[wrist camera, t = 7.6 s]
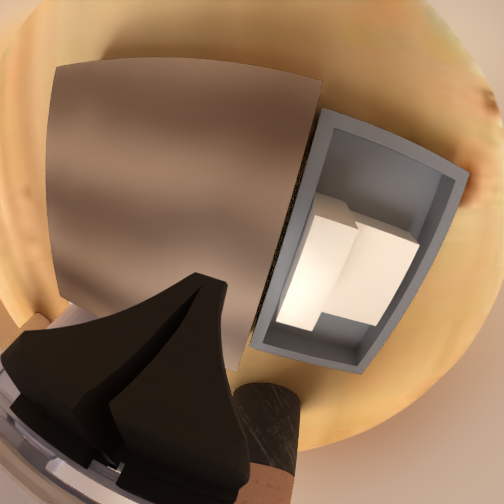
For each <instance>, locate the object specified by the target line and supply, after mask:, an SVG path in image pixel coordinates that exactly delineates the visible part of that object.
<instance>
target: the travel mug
mask: <svg viewBox="0 0 504 504" xmlns="http://www.w3.org/2000/svg"><path fill="white" fill-rule="evenodd" d="M232 398H233V401H234V404H235V408H236V411H237V414H238V416H239V419H240V421H241V424H242V427H243V429H244V431H245V434H246V436H247V441H248V449H249V457H250V478H249V481H248V483H247V484H246V485H244V486H243V487H242V488H241V489H239V492H238V496H237V500H236V502H235V503H234V504H290V501H291V495H292V490H293V484H294V477H295V468H296V459H297V448H298V437H299V424H300V400H299V398H298V397H297V396H296V395H295V394H294V393H293V392H292V391H290V390H288V389H286V388H284V387H281V386H278V385H274V384H268V383H251V384H246V385H243V386H241V387H239V388H238V389H237V390H236V391H235V392H234V394H233V396H232Z"/></svg>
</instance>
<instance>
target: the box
mask: <svg viewBox="0 0 504 504" xmlns="http://www.w3.org/2000/svg"><path fill="white" fill-rule="evenodd" d="M469 174H470V173H469V172H467V171H465V170H464V169H462V168H460V167H459V166H457V165H455V164H453V163H452V162H450V161H448V160H446V159H444V158H443V157H441V156H439V155H437V154H435V153H433V152H431V151H429V150H427V149H425V148H423V147H421V146H419V145H417V144H415V143H413V142H411V141H409V140H407V139H404V138H402V137H400V136H398V135H396V134H393V133H391V132H389V131H386V130H384V129H381V128H379V127H376V126H374V125H371V124H369V123H366V122H364V121H361V120H358V119H355V118H353V117H350V116H347V115H344V114H341V113H338V112H335V111H332V110H329V109H326V108H322V109H321V110H320V113H319V117H318V120H317V124H316V128H315V131H314V135H313V138H312V142H311V146H310V149H309V153H308V156H307V160H306V163H305V167H304V170H303V174H302V177H301V180H300V184H299V187H298V191H297V194H296V197H295V201H294V204H293V208H292V211H291V214H290V218H289V221H288V224H287V227H286V231H285V234H284V237H283V240H282V244H281V247H280V250H279V253H278V257H277V260H276V263H275V266H274V269H273V272H272V276H271V279H270V282H269V285H268V288H267V291H266V294H265V297H264V300H263V303H262V306H261V309H260V313H259V316H258V319H257V322H256V325H255V328H254V331H253V335H252V338H251V341H250V345H249V347H250V348H254V349H257V350H261V351H264V352H268V353H271V354H275V355H278V356H282V357H286V358H290V359H294V360H298V361H302V362H306V363H310V364H314V365H319V366H323V367H327V368H332V369H337V370H341V371H346V372H351V373H357V374H362V373H363V372H364V370H365V369H366V368H367V366H368V365H369V364H370V362H371V361H372V360H373V358H374V357H375V356H376V354H377V353H378V352H379V350H380V349H381V347H382V346H383V345H384V343H385V342H386V340H387V339H388V337H389V336H390V335H391V333H392V332H393V330H394V329H395V327H396V325H397V324H398V322H399V321H400V319H401V318H402V316H403V315H404V313H405V311H406V310H407V308H408V306H409V305H410V303H411V301H412V300H413V298H414V296H415V295H416V293H417V291H418V289H419V288H420V286H421V284H422V282H423V280H424V279H425V277H426V275H427V273H428V271H429V269H430V267H431V265H432V263H433V261H434V259H435V257H436V255H437V253H438V251H439V249H440V247H441V245H442V243H443V241H444V239H445V236H446V234H447V232H448V230H449V227H450V225H451V223H452V220H453V218H454V215H455V213H456V210H457V208H458V205H459V203H460V200H461V197H462V194H463V192H464V189H465V186H466V183H467V180H468V177H469ZM315 192H318V193H321V194H324V195H327V196H330V197H333V198H336V199H339V200H341V201H344V202H346V204H347V206H348V208H349V210H351V211H354V212H357V213H360V214H362V215H365V216H368V217H371V218H374V219H376V220H379V221H382V222H385V223H387V224H390V225H393V226H395V227H398V228H400V229H403V230H406V231H408V232H410V234H411V235H412V236H413V237H414V238H415V240H416V241H417V242H418V243H419V245H420V246H419V248H418V250H417V252H416V254H415V256H414V258H413V261H412V263H411V265H410V267H409V269H408V270H407V272H406V274H405V276H404V278H403V280H402V282H401V284H400V286H399V288H398V289H397V291H396V293H395V295H394V297H393V298H392V300H391V302H390V304H389V305H388V307H387V309H386V310H385V312H384V314H383V315H382V317H381V319H380V320H379V322H378V324H377V325H376V326H374V325H370V324H366V323H362V322H358V321H354V320H351V319H347V318H343V317H339V316H335V315H332V314H328V313H324V312H321V314H320V316H319V318H318V320H317V322H316V324H315V326H314V328H313V330H312V331H309V330H305V329H301V328H298V327H294V326H291V325H287V324H284V323H280V322H277V321H276V318H277V313H278V308H279V302H280V297H281V291H282V289H283V286H284V283H285V280H286V277H287V275H288V272H289V269H290V266H291V263H292V260H293V257H294V254H295V251H296V249H297V246H298V243H299V240H300V237H301V234H302V231H303V228H304V225H305V221H306V218H307V215H308V212H309V209H310V206H311V203H312V200H313V197H314V193H315Z"/></svg>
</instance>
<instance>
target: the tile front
mask: <svg viewBox="0 0 504 504" xmlns="http://www.w3.org/2000/svg"><path fill="white" fill-rule="evenodd" d="M358 230H359V229H358V227H357V225H356V223H355V221H354V219H353V216H352V214H351V212H350V210H349V208H348V206H347V204H346V202H344V201H341V200H339V199H336V198H333V197H330V196H327V195H324V194H321V193H318V192H315V193H314V197H313V200H312V203H311V206H310V209H309V212H308V215H307V218H306V221H305V225H304V228H303V231H302V234H301V237H300V240H299V243H298V246H297V249H296V251H295V254H294V257H293V260H292V263H291V266H290V269H289V272H288V275H287V277H286V280H285V283H284V286H283V289H282V291H281V297H280V302H279V308H278V313H277V318H276V321H277V322H280V323H284V324H287V325H291V326H294V327H298V328H301V329H305V330H309V331H312V330H313V328H314V326H315V324H316V322H317V320H318V318H319V316H320V314H321V312H322V310H323V308H324V306H325V304H326V302H327V300H328V298H329V296H330V294H331V292H332V289H333V287H334V285H335V283H336V281H337V279H338V276H339V274H340V272H341V270H342V268H343V265H344V263H345V261H346V258H347V256H348V254H349V251H350V249H351V247H352V244H353V242H354V240H355V237H356V235H357V232H358Z"/></svg>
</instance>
